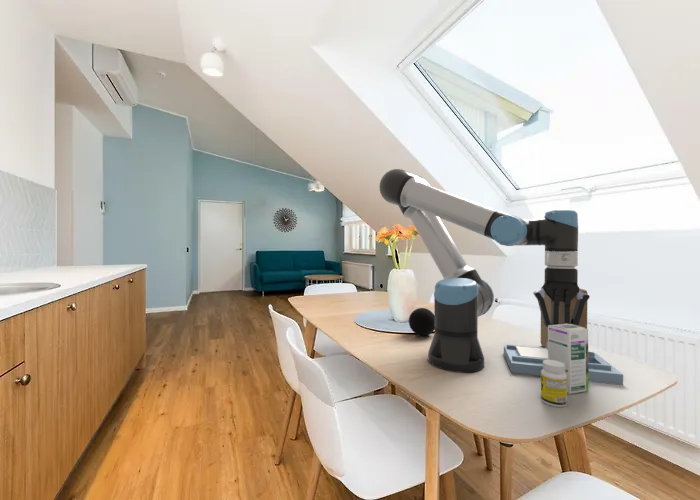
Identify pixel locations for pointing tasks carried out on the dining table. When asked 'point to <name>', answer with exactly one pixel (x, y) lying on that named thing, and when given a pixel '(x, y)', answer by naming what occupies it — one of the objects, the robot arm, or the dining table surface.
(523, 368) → the compartment tray
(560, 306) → the wooden block
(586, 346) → the syrup box
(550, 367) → the supplement bottle
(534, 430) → the dining table surface
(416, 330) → the decorative ball
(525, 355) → the cover
